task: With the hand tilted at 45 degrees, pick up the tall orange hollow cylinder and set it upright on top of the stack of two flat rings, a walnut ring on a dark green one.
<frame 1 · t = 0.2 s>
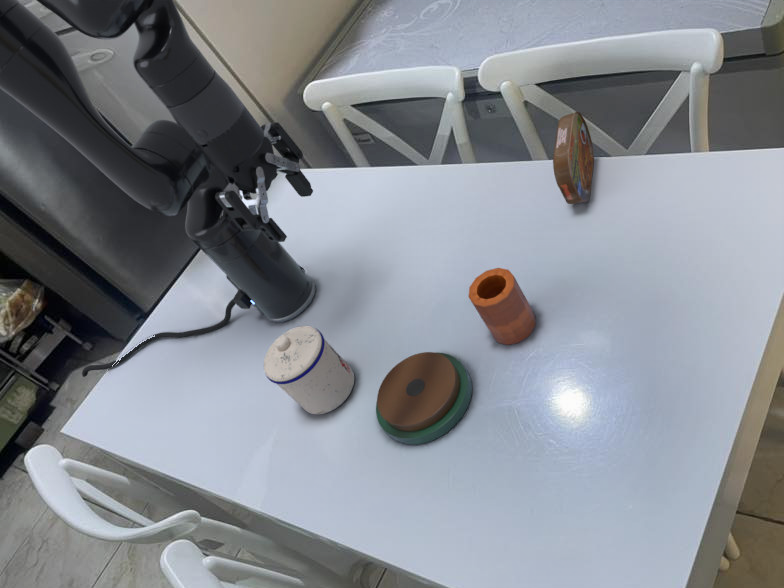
hand: (294, 216, 96), 17 cm above the table, tool pointing down, fingers open, 8 cm apart
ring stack: (425, 400, 91), on the table
teacup with lid: (322, 387, 100), on the table
tin: (582, 181, 104), on the table
orange hollow cylinder: (513, 326, 92), on the table
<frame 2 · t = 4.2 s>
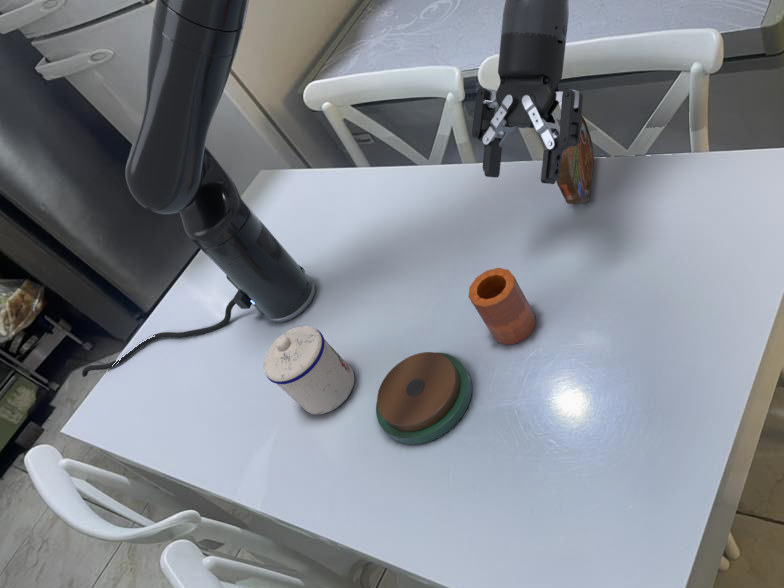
hand: (519, 180, 85), 15 cm above the table, tool tilted 45°, fingers open, 8 cm apart
nothing on the table moved.
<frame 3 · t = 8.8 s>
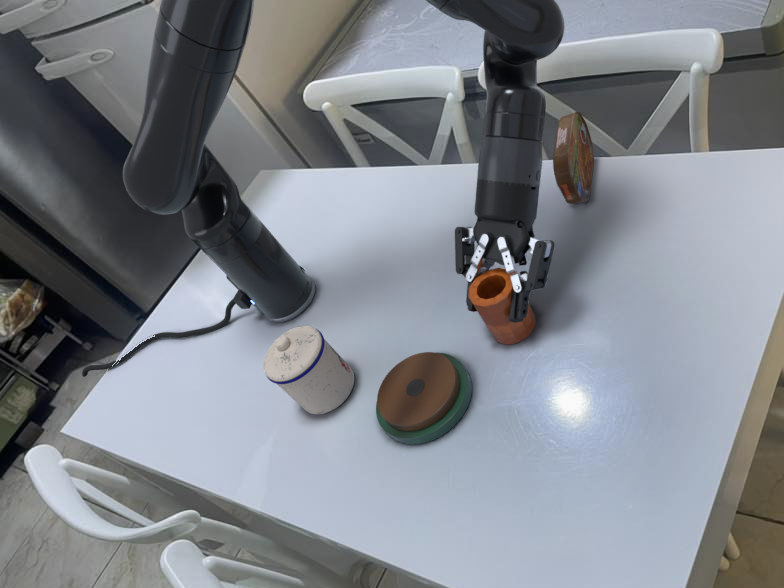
hand: (495, 315, 88), 4 cm above the table, tool tilted 45°, fingers closed on orange hollow cylinder, 6 cm apart
orange hollow cylinder: (513, 326, 92), on the table, touching gripper
everything else where it was.
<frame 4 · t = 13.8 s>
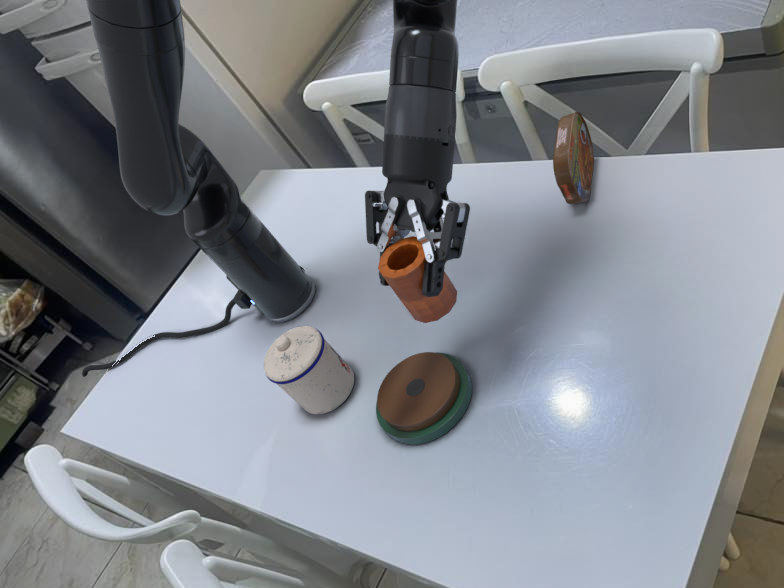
hand: (409, 289, 79), 16 cm above the table, tool tilted 45°, fingers closed on orange hollow cylinder, 6 cm apart
orange hollow cylinder: (433, 302, 83), point 12 cm above the table, touching gripper
everything else where it was.
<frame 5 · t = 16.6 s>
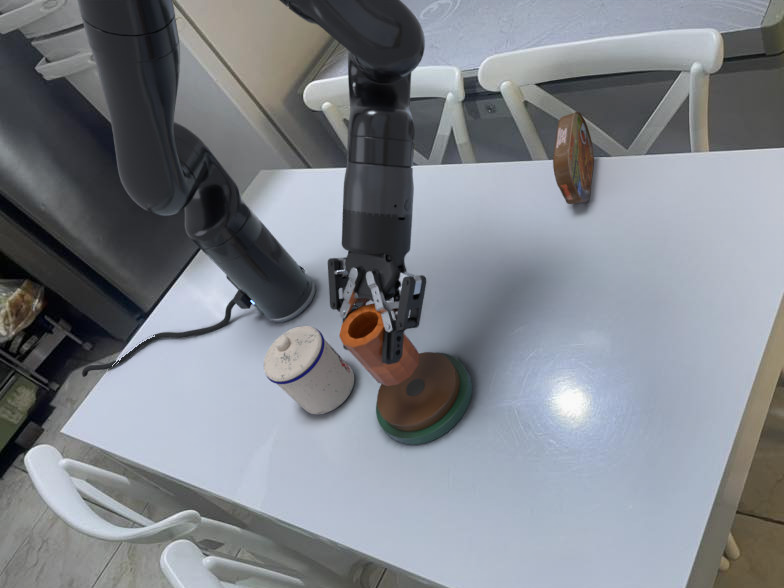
hand: (371, 355, 81), 12 cm above the table, tool tilted 45°, fingers closed on orange hollow cylinder, 6 cm apart
orange hollow cylinder: (396, 364, 85), point 8 cm above the table, touching gripper
everything else where it was.
when the fingers open (7 cm above the table, at t = 18.9 s): orange hollow cylinder stays where it is, resting on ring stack.
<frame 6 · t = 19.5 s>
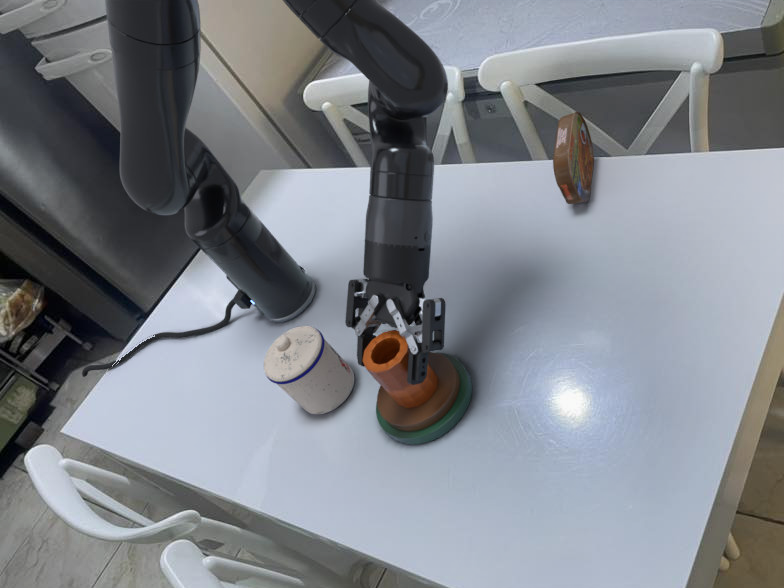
hand: (390, 374, 84), 8 cm above the table, tool tilted 45°, fingers open, 8 cm apart
orange hollow cylinder: (416, 387, 88), point 3 cm above the table, touching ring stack
everything else where it was.
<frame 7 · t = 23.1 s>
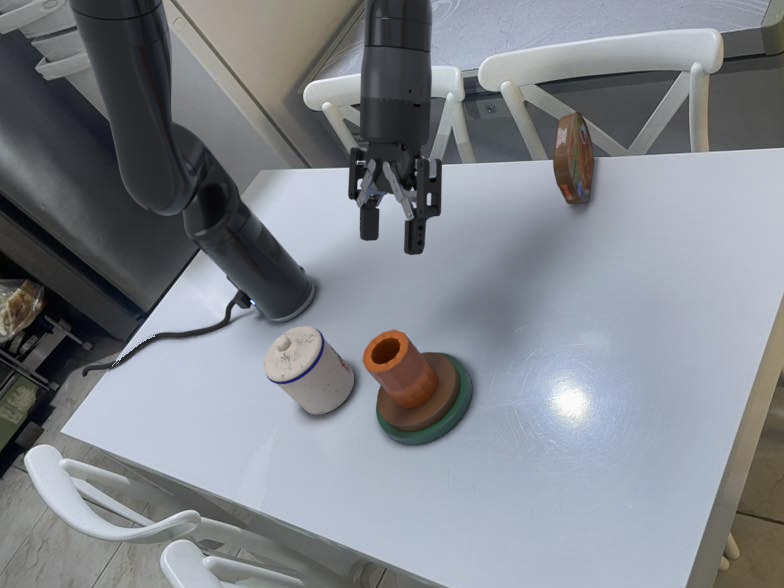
hand: (390, 246, 81), 19 cm above the table, tool tilted 40°, fingers open, 8 cm apart
nothing on the table moved.
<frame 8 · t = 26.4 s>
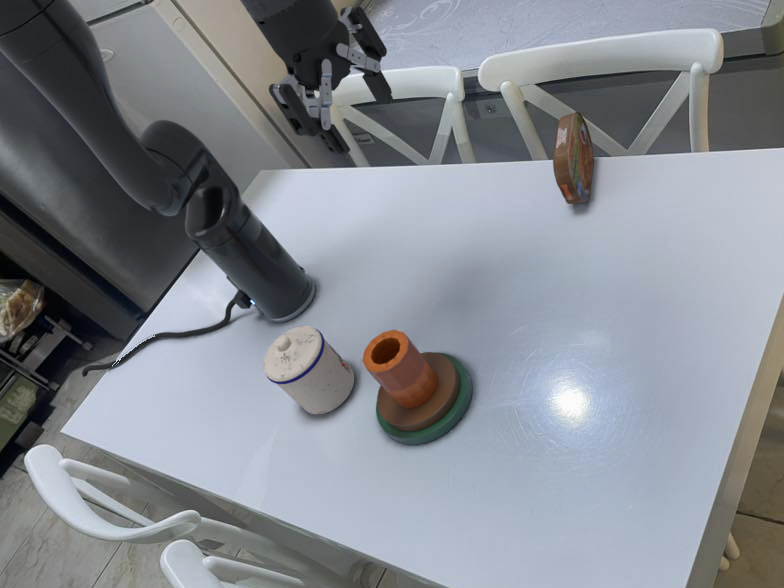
hand: (365, 127, 80), 28 cm above the table, tool pointing down, fingers open, 8 cm apart
nothing on the table moved.
at the end: orange hollow cylinder 0.1 cm off-centre on the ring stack, point 3.0 cm above the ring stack's base; orange hollow cylinder tilted 0°; orange hollow cylinder touching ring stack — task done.
